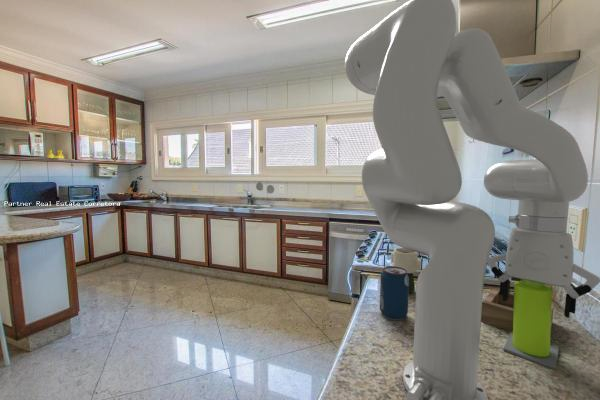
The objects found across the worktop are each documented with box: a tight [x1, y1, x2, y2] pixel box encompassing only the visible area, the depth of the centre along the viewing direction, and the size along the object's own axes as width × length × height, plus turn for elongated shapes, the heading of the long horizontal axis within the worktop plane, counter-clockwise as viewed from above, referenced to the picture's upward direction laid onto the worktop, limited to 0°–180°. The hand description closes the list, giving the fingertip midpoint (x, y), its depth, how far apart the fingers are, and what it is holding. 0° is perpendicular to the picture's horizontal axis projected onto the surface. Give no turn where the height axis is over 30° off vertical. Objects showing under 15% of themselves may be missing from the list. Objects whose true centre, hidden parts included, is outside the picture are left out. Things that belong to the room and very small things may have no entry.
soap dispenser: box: [513, 279, 553, 357], centre depth 56 cm, size 6×7×20 cm
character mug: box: [390, 247, 422, 293], centre depth 87 cm, size 11×7×13 cm, turn 31°
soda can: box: [379, 265, 410, 321], centre depth 71 cm, size 7×7×12 cm
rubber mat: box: [502, 331, 560, 370], centre depth 57 cm, size 9×8×1 cm
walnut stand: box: [481, 288, 555, 332], centre depth 69 cm, size 12×12×5 cm
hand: (534, 306), depth 57 cm, fingers open, 9 cm apart
